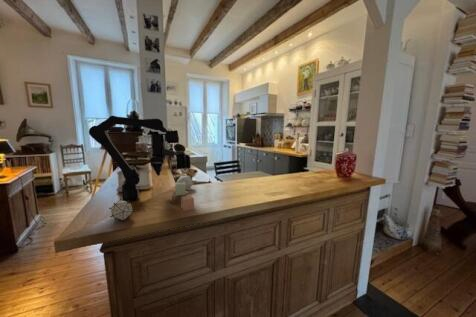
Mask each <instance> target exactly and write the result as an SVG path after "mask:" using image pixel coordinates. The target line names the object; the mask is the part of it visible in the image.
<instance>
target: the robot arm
mask: <svg viewBox="0 0 476 317" xmlns="http://www.w3.org/2000/svg"><path fill="white" fill-rule="evenodd" d="M116 125H121V126H133V127H141V128H147V129H150V130H149V131H148V132H147V136H150V137H151V139H150V140H151V157H150V158H149V163H150V164H151V165H150V166H152V168H153V170H154V172H155V174H156V176H158V177H159V176H160V175H161V172H162V169H163V168H162V167H163V164H165V160H166V159H167V158H166V157H170V158H173V159H174V158H175V154H176V151H175V150H174V147H169V148H166V146H165V143H164V142H166V143H167V144H179V143H180V137H179V132H178V130H167V128H165V127H164V123H163V121H162V119H160V118H145V119H142V118H133V117H125V116H124V117H123V116H116V115H111V116H108V118H106V119H105V120H104V121H102V122H101V123H99V124H98V125H93V126H90V127H89V130H88V134H89V136H90V137H91V138H93V140H94V141H95V142H97V143H98V144H100V145H101V146H102V148H104V150H105V151H106V153H108V155H109V156H110V158H111V159H112V160H113V161H114V163H115V164H116V166H118V168H119V169H120V170H121V172H122V174H123V177H124V179H125V180H124V181H123V182H122V185H121V194H122V197H121V198H122V200H123V201H127V202H128V201H129V202H134V201H137V200H138V199H139V197H140V195H139V194H140V192H139V188H138V186H137V185H138V184H139V183H140V178H141V176H140V171H138V170H137V168H136V166H134V167H132V166H130V165H129V163H128V162H127V161H126V159H125V158H124V156H123V155H122V153H120V151H119V150H118V148H117V147H116V146H115V145H114V142H112V139H111V137H110V134H109V133H108V131H109V130H111V129H112V128H113V127H115V126H116ZM152 130H154V131H152ZM159 132H162V133H159Z"/></svg>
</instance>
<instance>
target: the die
mask: <svg viewBox="0 0 476 317" xmlns="http://www.w3.org/2000/svg"><path fill="white" fill-rule="evenodd" d="M182 182H185V191H190V190H191V188H192V187H193V184H194V182H193V180H192V178H191V176H190V175H180V176H179V178H178V179H177V181H176V182H175V183H182Z"/></svg>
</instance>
